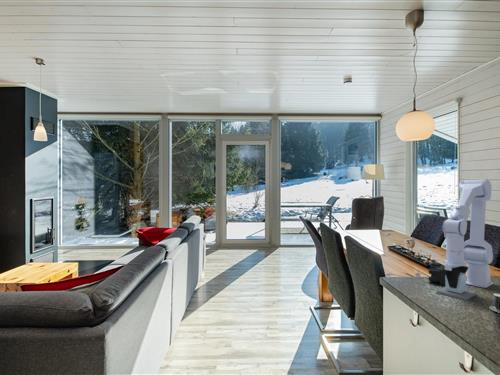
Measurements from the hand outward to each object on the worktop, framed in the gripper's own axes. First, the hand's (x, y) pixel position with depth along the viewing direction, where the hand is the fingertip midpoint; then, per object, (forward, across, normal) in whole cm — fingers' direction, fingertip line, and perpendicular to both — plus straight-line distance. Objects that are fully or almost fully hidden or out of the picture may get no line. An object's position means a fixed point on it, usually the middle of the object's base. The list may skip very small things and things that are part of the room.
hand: (456, 286), depth 117 cm
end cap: (+3, -11, -10) cm, 15 cm away
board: (+3, 0, 0) cm, 3 cm away
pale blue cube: (+2, 0, 0) cm, 2 cm away
